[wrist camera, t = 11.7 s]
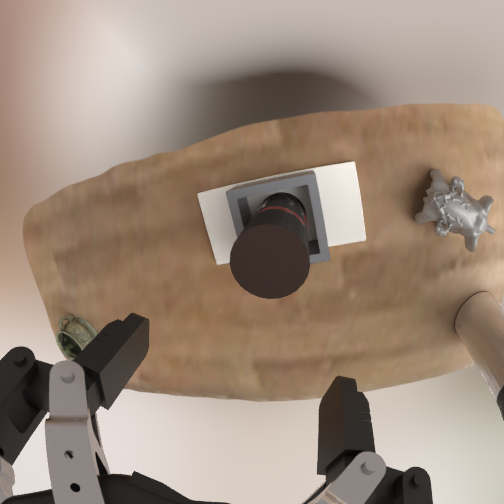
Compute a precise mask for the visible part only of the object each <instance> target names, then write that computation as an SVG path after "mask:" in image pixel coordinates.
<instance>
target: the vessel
mask: <svg viewBox="0 0 504 504" xmlns="http://www.w3.org/2000/svg"><path fill="white" fill-rule="evenodd" d="M64 319H67V320H68V321H69V322H68V323H66V324H65V326H64V325H63V320H64ZM73 319H74V316H73V315H70V316H64V317H62V318H61V319H60V321H59V328H60V330H61V331H59V332H57V333H56V341H57V345H58V346H59V348H60V350H61V351H62V353H63V354H64V355H65V356H66V357H67V358H68V359H69V360H71V361H72V360H73V359H74V358H75V357H76V356H77V355H78V354H79V353H80V352H81V351H82V350H83V349H84V348H85V347H86V346H87V345H88V344H89V343H90V342H91V341H92V340H93V339H95V336H96V335H97V332H96V330H95V329H94V328H93V327H92V325H91V324H89V323H88V322H87V321H86V320H84V319H82V318H76V319H75V320H74V321H72V320H73Z"/></svg>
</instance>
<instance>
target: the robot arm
mask: <svg viewBox="0 0 504 504" xmlns="http://www.w3.org/2000/svg"><path fill="white" fill-rule="evenodd" d="M455 330H456V333H457V334H458V336H459V337H460V339H461V340H462V342H463V344H464V345H465V347H466V349H467V350H468V352H469V353H470V355H471V357H472V358H473V360H474V362H475V364H476V365H477V367H478V369H479V370H480V372H481V374H482V376H483V377H484V379H485V381H486V383H487V385H488V387H489V389H490V390H491V392H492V394H493V396H494V398H495V400H496V402H497V404H498V406H499V408H500V411H501V414H502V417H503V420H504V307H503V306H502V305H501V304H500V303H499V302H498V301H497V300H496V299H495V298H494V297H493V296H492V295H491V294H490V293H488V292H479V293H477V294H475V295H473V296H472V297H470V298H469V299H468V300H467V301H466V302H465V303H464V304H463V306H462V307H461V309H460V310H459V312H458V314H457V317H456V320H455ZM148 348H149V319H147V318H145V317H142V316H140V315H137V314H135V313H131V314H129V315H128V317H127V318H126V319H125V320H124V321H121V320H119V319H118V320H115V321H113V322H111V323H109V324H107V325H106V326H105V327H104V328H103V329H102V330H101V332H100V333H98V334H97V335H96V336H95V339H93V340H92V341H91V342H90V343H89V344H88V345H87V346H86V347H85V348H84V349H83V350H82V351H81V352H80V353H79V354H78V355H77V356H76V357H75V358H74V359H73V360H72V361H60V362H58V363H56V364H55V365H52V364H48V363H45V362H42V361H39V360H36V359H35V356H34V353H33V352H32V351H31V350H30V349H29V348H26V347H15V348H13V349H11V350H10V351H9V352H8V353H7V354H6V355H5V356H4V357H3V358H2V359H1V360H0V504H229V503H223V502H222V503H221V502H204V501H194V500H190V499H188V498H186V497H184V496H183V495H181V494H179V493H178V492H176V491H175V490H173V489H171V488H170V487H168V486H167V485H165V484H163V483H161V482H159V481H156V480H154V479H151V478H149V477H147V476H144V475H142V474H140V473H138V472H135V471H134V472H133V474H132V476H130V475H124V474H110V471H109V467H108V464H107V461H106V458H105V455H104V451H103V447H102V442H101V438H100V432H99V426H98V421H97V414H96V411H97V410H98V408H99V407H100V406H102V407H104V408H105V409H107V410H109V408H110V407H111V406H112V404H113V403H114V401H115V400H116V398H117V397H118V395H119V394H120V392H121V391H122V390H123V388H124V387H125V385H126V384H127V382H128V381H129V379H130V378H131V377H132V375H133V374H134V372H135V371H136V369H137V368H138V367H139V365H140V364H141V362H142V361H143V360H144V358H145V356H146V354H147V352H148ZM47 412H50V416H49V419H46V421H45V436H46V449H47V458H48V466H49V474H50V480H51V486H52V489H49V490H44V491H39V492H34V493H28V494H24V495H23V494H22V495H16V496H13V493H12V485H14V483H15V479H14V470H13V468H12V465H13V463H14V462H15V460H16V458H17V457H18V455H19V454H20V452H21V451H22V449H23V447H24V446H25V444H26V443H27V441H28V440H29V438H30V437H31V435H32V434H33V432H34V431H35V429H36V428H37V426H38V425H39V424H40V422H41V421H42V419H43V418H44V416H45V415H46V414H47ZM318 434H319V435H318V462H317V474H319V475H326V481H325V482H324V483H323V484H322V485H321V486H320V487H319V488H318V489H317V490H316V491H315V492H314V493H313V494H311V495H310V496H309V497H308V498H307V499H306V500H305V501H304V502H303V503H302V504H433V501H432V490H431V482H430V477H429V475H428V473H427V472H426V471H425V470H424V469H422V468H420V467H411V468H409V469H408V470H406V471H405V472H403V471H399V470H396V469H392V468H390V467H387V466H386V465H385V462H384V460H383V459H382V458H381V457H380V456H379V455H378V454H376V453H375V445H374V437H373V429H372V423H371V416H370V409H369V403H368V400H367V399H366V397H365V396H364V394H363V392H357V385H356V380H355V379H353V378H347V377H342V376H337V377H336V378H335V379H334V381H333V382H332V384H331V386H330V387H329V389H328V390H327V392H326V393H325V395H324V396H323V398H322V400H321V403H320V407H319V433H318Z"/></svg>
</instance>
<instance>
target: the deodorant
mask: <svg viewBox="0 0 504 504" xmlns="http://www.w3.org/2000/svg"><path fill="white" fill-rule="evenodd" d="M230 266H231V271H232V273H233V275H234V277H235V280H236V281H237V282H238V283H239V284H240V286H241V287H242V288H244V289H245V290H246V291H248V292H249V293H251V294H253V295H255V296H258V297H262V298H267V299H274V298H281V297H285V296H288V295H290V294H292V293H293V292H295V291H297V290H298V289H299V287H300V286H301V285H302V284H303V283H304V281H305V280H306V278H307V276H308V273H309V268H310V258H309V244H308V231H307V219H306V210H305V208H304V205H303V204H302V202H301V201H300V200H299V199H298V198H297V197H295V196H294V195H292V194H289V193H284V192H280V193H275V194H272V195H270V196H268V197H267V198H266V199H265V200H264V201H263V202H262V204H261V205H260V206H259V208H258V209H257V211H256V212H255V213H254V215H253V216H252V218H251V219H250V221H249V222H248V223H247V225H246V226H245V228H244V229H243V231H242V232H241V233H240V235H239V236H238V238H237V239H236V241H235V242H234V244H233V247H232V249H231V252H230Z"/></svg>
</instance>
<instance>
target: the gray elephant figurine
mask: <svg viewBox="0 0 504 504" xmlns="http://www.w3.org/2000/svg"><path fill="white" fill-rule="evenodd" d="M430 177H431V178H432V180H433V182H432V183H431V187H430V188H429V189H427V190H426V193H427V194H428V196H427V197H424V198H423V201H424V206H423V210H422V212H418V213H416V215H415V220H416V222H417V223H418V224H424V223H426V222H429V221H437V224H436V226H435V228H434V232H435V233H436V234H437V235H441V236H446V234H447V232H448V231H450V232H452V233H459V234H461V235H463V236H464V237H465V245H466V248H467V249H468V250H469V251H470V252H474V251H475V248H476V244H477V242H478V239H479V235H480V234H482V233H483V232H484V231H487V232H489V233H490V234H494V233H495V230H494V229H493V228H492V227H491V226H489V225H488V223H487V222H488V219H487V214H488V212H489V210H490V207H491V205H492V203H493V201H494V200H493V198H492V197H491V196H483V197H482V198H481V199H479V200H478V201H477V200H475V199H473V198H472V197H471V196H470V195H469V194H468V193H467V192H465V191H464V181H463V180H461V179H460V178H459V177H457V176H455V177H453V178H452V182H451V185H450V186H449V185H448V184H447V183H446V181H445V180H444V178H443V176H442V174H441V172H440V170H438V169H434V170H432V171H431V172H430Z"/></svg>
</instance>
